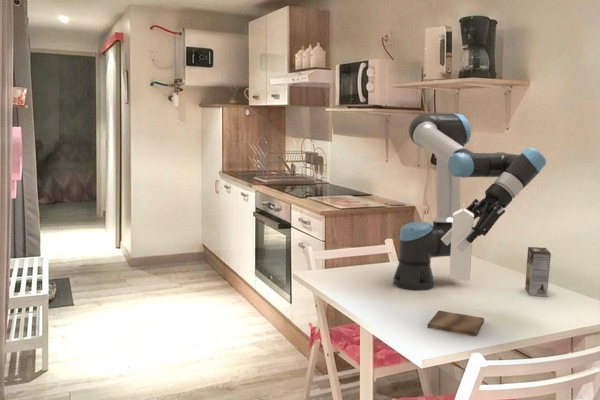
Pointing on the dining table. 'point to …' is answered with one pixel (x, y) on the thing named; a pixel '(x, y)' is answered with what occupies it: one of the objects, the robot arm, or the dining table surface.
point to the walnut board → (456, 323)
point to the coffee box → (537, 271)
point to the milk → (460, 228)
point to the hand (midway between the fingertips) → (451, 245)
